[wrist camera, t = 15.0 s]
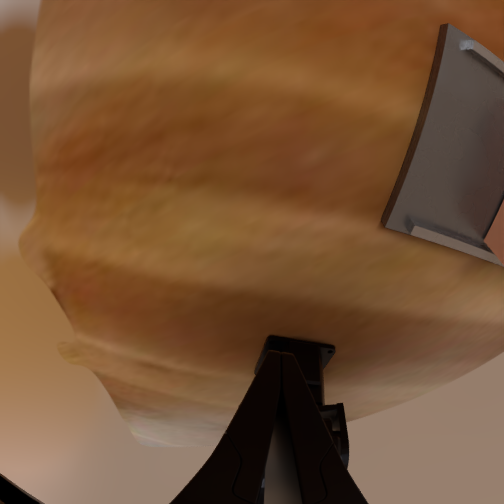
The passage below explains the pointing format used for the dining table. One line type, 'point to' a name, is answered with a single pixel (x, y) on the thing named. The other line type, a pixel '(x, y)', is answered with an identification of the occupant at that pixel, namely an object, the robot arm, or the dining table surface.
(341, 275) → the dining table surface
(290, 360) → the robot arm
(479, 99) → the vise base
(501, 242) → the sliding jaw
